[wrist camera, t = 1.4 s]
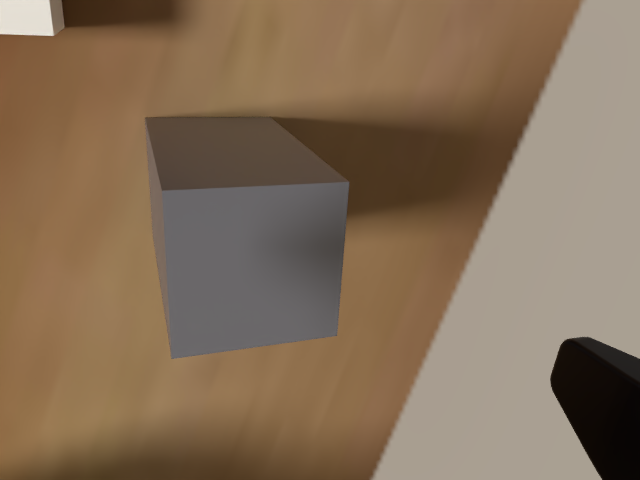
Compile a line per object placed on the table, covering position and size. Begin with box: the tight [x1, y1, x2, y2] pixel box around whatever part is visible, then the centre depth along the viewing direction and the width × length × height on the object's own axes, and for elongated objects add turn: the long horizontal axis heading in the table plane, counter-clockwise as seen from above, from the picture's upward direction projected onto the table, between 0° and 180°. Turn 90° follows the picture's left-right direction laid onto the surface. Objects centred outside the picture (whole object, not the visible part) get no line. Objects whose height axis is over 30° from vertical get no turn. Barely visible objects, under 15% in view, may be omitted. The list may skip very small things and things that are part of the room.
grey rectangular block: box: [145, 117, 349, 359], centre depth 17 cm, size 4×4×8 cm
